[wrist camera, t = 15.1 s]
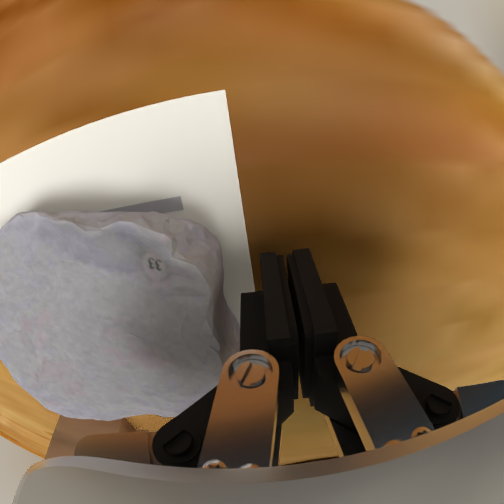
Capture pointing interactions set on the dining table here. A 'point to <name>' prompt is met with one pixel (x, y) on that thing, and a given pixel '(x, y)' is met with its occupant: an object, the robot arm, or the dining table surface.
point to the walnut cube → (81, 433)
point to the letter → (144, 175)
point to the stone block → (113, 312)
